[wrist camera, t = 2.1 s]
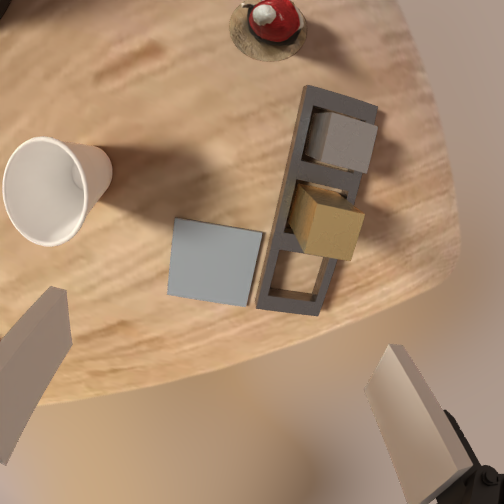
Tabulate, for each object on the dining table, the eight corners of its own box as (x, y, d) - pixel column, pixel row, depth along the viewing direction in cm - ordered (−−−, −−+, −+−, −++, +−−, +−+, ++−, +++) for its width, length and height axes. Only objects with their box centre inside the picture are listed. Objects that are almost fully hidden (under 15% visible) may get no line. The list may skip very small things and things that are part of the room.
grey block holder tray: (303, 86, 30) (307, 84, 29) (370, 106, 31) (378, 106, 30) (255, 299, 40) (256, 308, 38) (314, 307, 41) (318, 316, 39)
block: (313, 113, 32) (332, 112, 25) (352, 124, 32) (378, 126, 26) (304, 153, 33) (320, 161, 27) (343, 163, 34) (366, 173, 28)
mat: (175, 217, 35) (174, 218, 35) (262, 231, 37) (262, 233, 36) (167, 292, 39) (167, 294, 39) (245, 305, 40) (245, 307, 40)
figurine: (320, -29, 22) (332, 23, 18) (300, 36, 31) (302, 103, 28) (239, -42, 21) (220, 6, 18) (231, 26, 31) (216, 91, 27)
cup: (84, 112, 30) (30, 114, 20) (145, 163, 33) (109, 182, 23) (44, 179, 32) (-10, 204, 22) (99, 228, 35) (57, 267, 25)
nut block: (297, 183, 35) (317, 203, 26) (335, 191, 35) (365, 214, 27) (288, 221, 36) (303, 253, 28) (325, 229, 37) (350, 261, 29)
